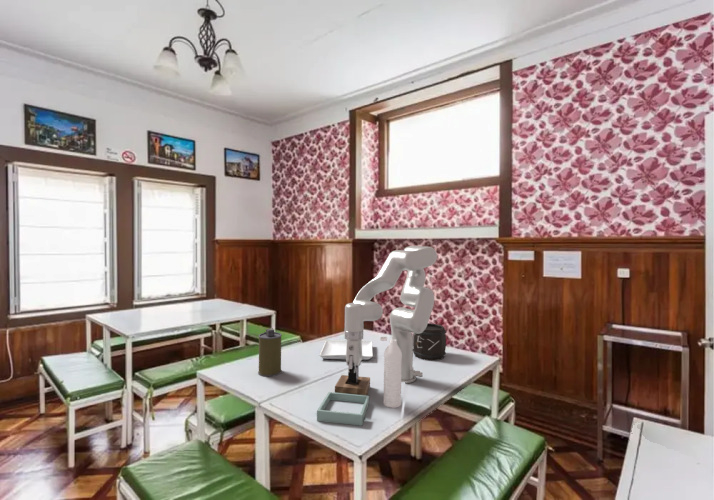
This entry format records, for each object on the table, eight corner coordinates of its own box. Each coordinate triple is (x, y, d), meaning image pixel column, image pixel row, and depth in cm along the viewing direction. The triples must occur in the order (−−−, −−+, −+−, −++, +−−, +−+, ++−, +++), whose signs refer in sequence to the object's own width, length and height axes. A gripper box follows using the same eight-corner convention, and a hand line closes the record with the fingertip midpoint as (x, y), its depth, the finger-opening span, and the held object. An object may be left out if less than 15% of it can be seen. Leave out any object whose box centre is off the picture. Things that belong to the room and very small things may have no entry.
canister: (284, 373, 168) (285, 330, 167) (262, 378, 163) (262, 333, 162) (276, 366, 177) (277, 325, 177) (255, 370, 172) (255, 327, 171)
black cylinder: (404, 353, 201) (405, 325, 200) (428, 348, 211) (429, 321, 210) (428, 363, 186) (428, 332, 185) (452, 357, 196) (453, 328, 195)
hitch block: (369, 389, 152) (370, 377, 152) (365, 402, 141) (365, 389, 140) (341, 386, 154) (341, 375, 154) (334, 399, 143) (334, 386, 143)
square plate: (325, 345, 214) (325, 339, 214) (372, 347, 213) (372, 340, 213) (318, 361, 187) (318, 353, 187) (372, 363, 186) (373, 355, 186)
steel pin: (361, 389, 150) (361, 359, 149) (358, 394, 144) (359, 364, 144) (347, 387, 151) (348, 358, 150) (344, 393, 145) (345, 363, 145)
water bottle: (404, 405, 138) (405, 339, 137) (394, 411, 133) (396, 343, 132) (384, 399, 143) (385, 335, 143) (374, 405, 138) (376, 338, 137)
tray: (369, 405, 138) (369, 395, 138) (362, 425, 123) (362, 415, 123) (328, 401, 141) (328, 392, 141) (316, 420, 126) (316, 410, 125)
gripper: (359, 340, 138) (358, 389, 138) (366, 330, 154) (365, 373, 155) (339, 339, 139) (339, 387, 140) (349, 328, 156) (348, 371, 156)
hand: (353, 379), depth 147 cm, fingers closed on steel pin, 4 cm apart
